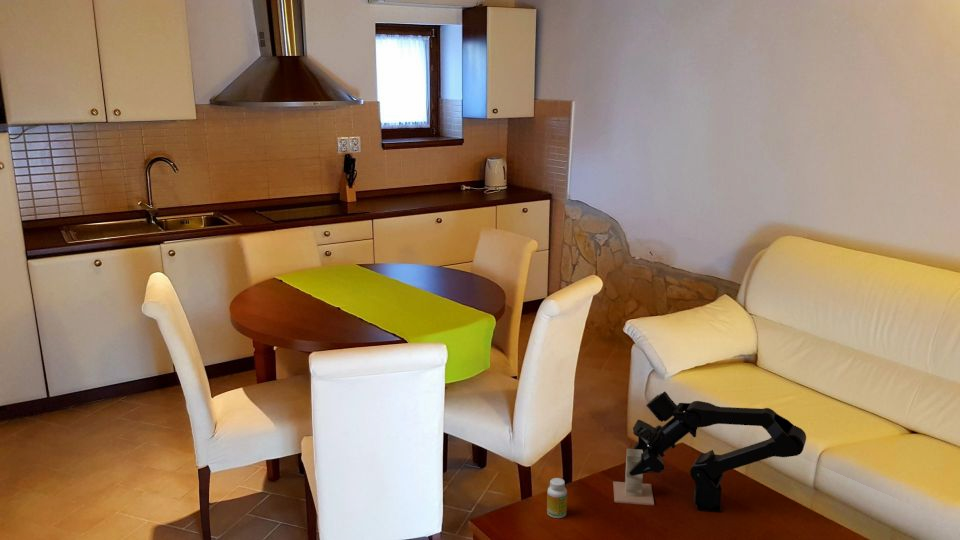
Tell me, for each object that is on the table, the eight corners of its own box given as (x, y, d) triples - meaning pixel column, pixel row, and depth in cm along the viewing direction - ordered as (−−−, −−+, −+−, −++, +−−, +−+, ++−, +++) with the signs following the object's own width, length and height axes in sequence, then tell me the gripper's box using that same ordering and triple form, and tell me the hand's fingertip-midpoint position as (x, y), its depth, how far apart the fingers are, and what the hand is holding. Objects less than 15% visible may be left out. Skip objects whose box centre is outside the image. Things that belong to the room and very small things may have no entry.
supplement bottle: (560, 521, 196) (560, 488, 194) (543, 514, 199) (543, 482, 197) (570, 512, 200) (570, 480, 198) (553, 506, 204) (554, 474, 202)
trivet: (650, 485, 214) (650, 484, 214) (653, 505, 204) (654, 503, 204) (613, 482, 216) (613, 481, 216) (614, 502, 205) (614, 500, 205)
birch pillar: (640, 488, 212) (642, 449, 209) (641, 496, 207) (643, 456, 204) (624, 487, 212) (626, 448, 210) (625, 495, 208) (627, 455, 205)
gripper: (648, 400, 213) (609, 433, 217) (653, 427, 195) (610, 462, 199) (674, 426, 213) (634, 458, 217) (682, 456, 195) (638, 490, 199)
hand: (629, 466), depth 208 cm, fingers open, 9 cm apart
